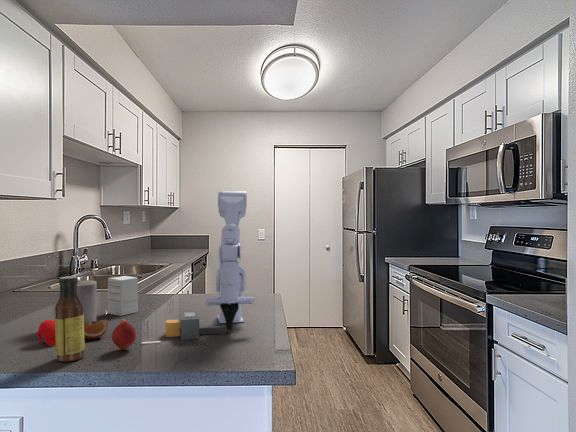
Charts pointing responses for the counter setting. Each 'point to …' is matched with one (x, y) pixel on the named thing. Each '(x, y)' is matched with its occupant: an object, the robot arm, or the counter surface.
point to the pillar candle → (88, 298)
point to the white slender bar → (151, 342)
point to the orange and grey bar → (175, 329)
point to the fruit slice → (95, 329)
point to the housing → (189, 325)
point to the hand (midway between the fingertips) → (228, 328)
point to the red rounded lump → (124, 335)
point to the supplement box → (122, 295)
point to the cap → (47, 332)
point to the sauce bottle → (69, 322)
